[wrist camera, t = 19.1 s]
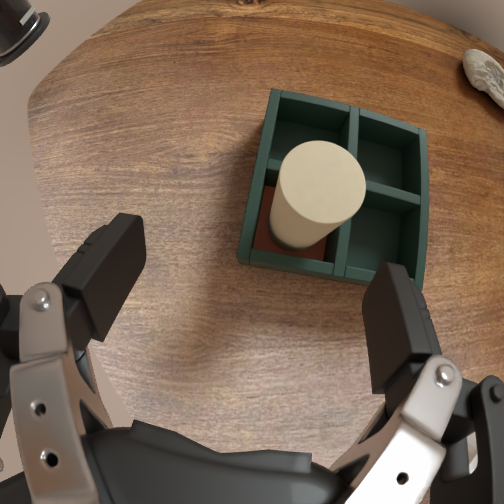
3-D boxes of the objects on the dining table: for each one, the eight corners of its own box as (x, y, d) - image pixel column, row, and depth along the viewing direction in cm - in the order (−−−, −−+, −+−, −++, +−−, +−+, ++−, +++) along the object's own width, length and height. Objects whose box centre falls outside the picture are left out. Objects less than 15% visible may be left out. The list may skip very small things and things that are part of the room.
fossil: (488, 85, 21) (453, 35, 23) (474, 102, 25) (444, 52, 27) (534, 106, 21) (503, 57, 23) (521, 119, 25) (493, 71, 27)
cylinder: (263, 246, 22) (271, 214, 12) (272, 196, 23) (286, 132, 13) (315, 256, 22) (362, 232, 12) (322, 206, 23) (368, 151, 13)
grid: (239, 263, 23) (236, 257, 19) (269, 115, 24) (271, 87, 20) (397, 291, 23) (422, 291, 18) (406, 149, 24) (426, 130, 20)
